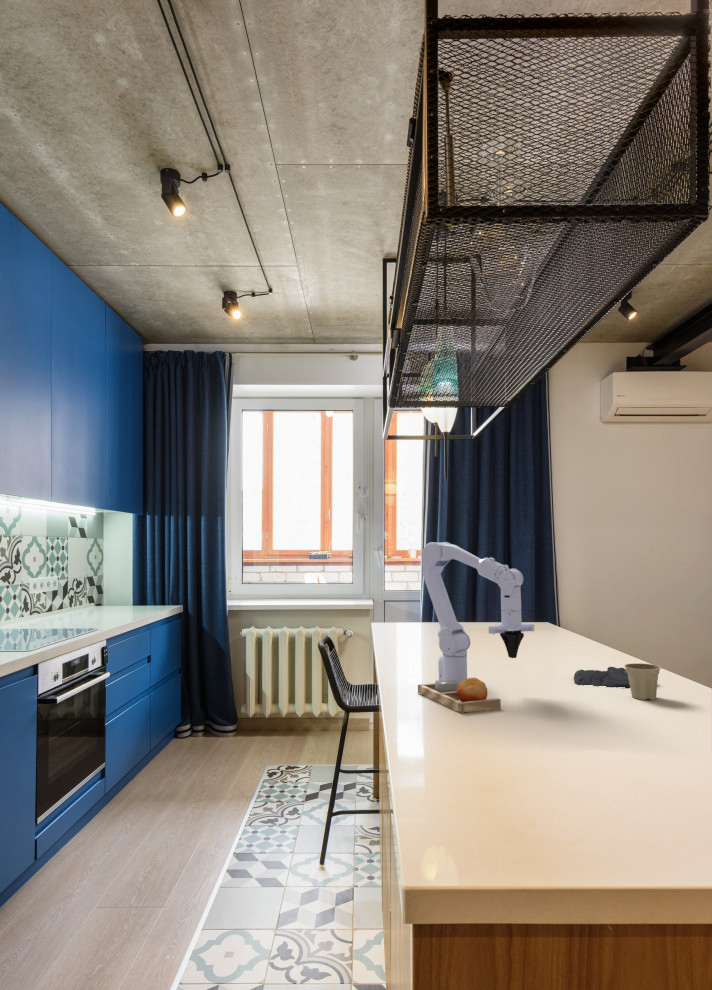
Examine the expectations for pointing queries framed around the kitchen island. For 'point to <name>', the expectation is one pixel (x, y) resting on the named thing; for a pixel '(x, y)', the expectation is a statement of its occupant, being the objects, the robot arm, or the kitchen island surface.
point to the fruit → (472, 690)
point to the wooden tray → (457, 700)
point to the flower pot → (643, 680)
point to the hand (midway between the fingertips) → (512, 657)
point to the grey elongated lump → (603, 677)
